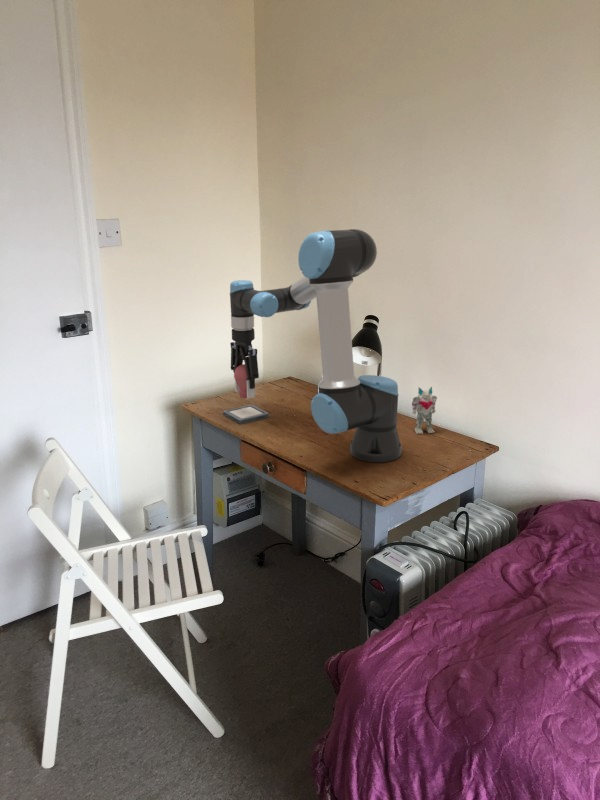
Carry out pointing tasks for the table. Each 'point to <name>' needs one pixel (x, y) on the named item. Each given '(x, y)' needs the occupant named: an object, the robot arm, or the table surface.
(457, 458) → the table surface
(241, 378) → the light bulb
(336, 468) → the table surface
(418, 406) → the figurine
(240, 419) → the holder
